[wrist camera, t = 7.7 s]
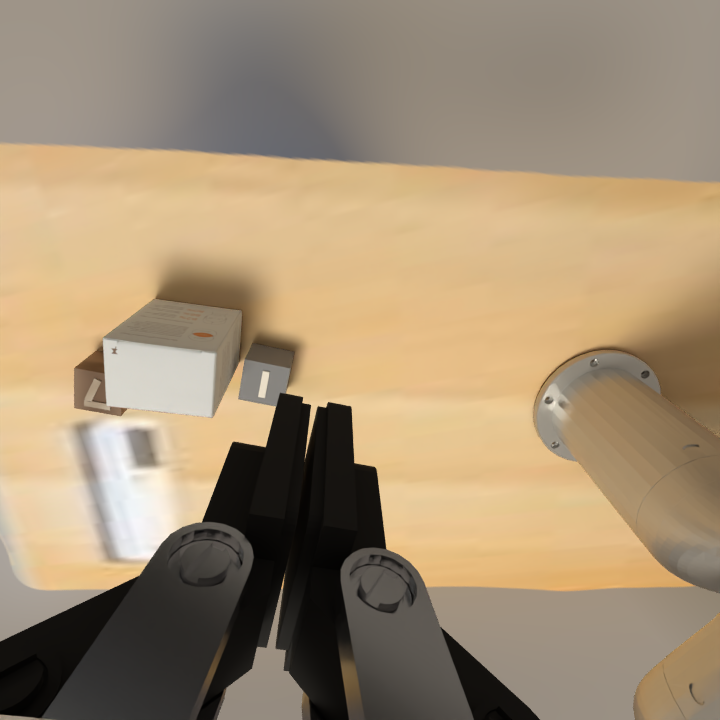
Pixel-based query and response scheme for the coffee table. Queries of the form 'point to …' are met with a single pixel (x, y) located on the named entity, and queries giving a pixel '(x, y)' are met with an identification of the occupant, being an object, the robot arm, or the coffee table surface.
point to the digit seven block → (92, 386)
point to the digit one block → (265, 374)
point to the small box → (172, 358)
